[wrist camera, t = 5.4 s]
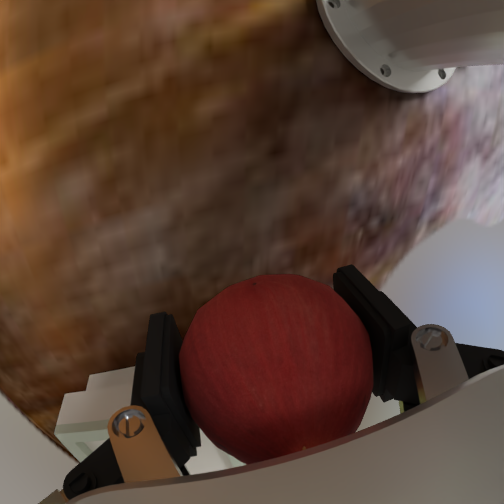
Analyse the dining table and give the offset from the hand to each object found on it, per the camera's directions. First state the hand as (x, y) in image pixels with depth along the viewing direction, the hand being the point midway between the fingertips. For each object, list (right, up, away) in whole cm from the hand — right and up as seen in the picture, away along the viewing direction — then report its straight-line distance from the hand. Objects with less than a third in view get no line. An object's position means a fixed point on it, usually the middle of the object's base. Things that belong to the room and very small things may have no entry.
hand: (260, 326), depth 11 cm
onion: (0, +1, +1) cm, 2 cm away
